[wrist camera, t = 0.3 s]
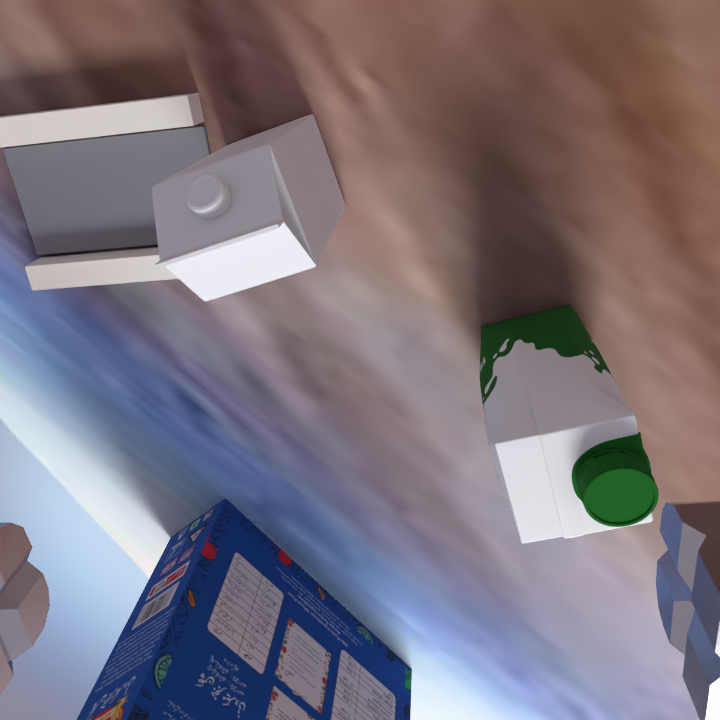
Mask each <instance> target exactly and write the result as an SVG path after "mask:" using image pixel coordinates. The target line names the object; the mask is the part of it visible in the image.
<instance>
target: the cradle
mask: <svg viewBox="0 0 720 720" xmlns="http://www.w3.org/2000/svg"><path fill="white" fill-rule="evenodd" d="M202 122H204V117H203V112H202V107H201V102H200V97H199V93H191V94H183V95H174V96H166V97H158V98H149V99H141V100H133V101H124V102H116V103H107V104H99V105H91V106H82V107H74V108H66V109H57V110H49V111H41V112H32V113H24V114H15V115H7V116H0V148H1V147H10V146H19V145H28V144H36V143H45V142H54V141H63V140H72V139H81V138H90V137H99V136H107V135H116V134H125V133H134V132H143V131H152V130H161V129H169V128H178V127H187V126H194V125H197V124H199V123H202ZM3 151H4V154H5V157H6V160H7V164H8V167H9V170H10V173H11V176H12V179H13V182H14V185H15V188H16V191H17V194H18V198H19V201H20V204H21V207H22V210H23V213H24V216H25V219H26V222H27V225H28V228H29V232H30V235H31V238H32V241H33V244H34V247H35V250H36V253H37V255H45V254H56V253H67V252H78V251H90V250H101V249H112V248H123V247H135V246H146V245H157V244H158V241H157V232H156V223H155V214H154V205H153V196H152V187H153V186H154V185H156V184H157V183H159V182H161V181H163V180H164V179H166V178H168V177H170V176H172V175H173V174H175V173H177V172H179V171H181V170H183V169H184V168H186V167H188V166H190V165H192V164H194V163H195V162H197V161H199V160H201V159H203V158H205V157H206V156H208V155H210V154H211V152H210V147H209V142H208V137H207V132H206V127H205V126H199V127H190V128H181V129H173V130H164V131H155V132H146V133H137V134H128V135H119V136H110V137H101V138H93V139H84V140H75V141H66V142H57V143H48V144H39V145H30V146H21V147H13V148H5V149H3ZM158 261H160V259H159V250H158V247H151V248H140V249H129V250H117V251H106V252H95V253H83V254H72V255H61V256H49V257H40V258H39V259H37V260H35V261H33V262H32V263H30V264H28V265H27V266H25V270H26V273H27V276H28V279H29V282H30V285H31V288H32V291H33V290H45V289H57V288H70V287H82V286H94V285H106V284H119V283H131V282H143V281H156V280H168V279H179V278H177V277H176V276H175V275H174V274H173V273H172V272H171V271H170V270H168V269H167V268H166V267H165V266H164V267H161V268H158V269H154V268H153V266H154V265H155V264H156V263H157V262H158Z"/></svg>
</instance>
